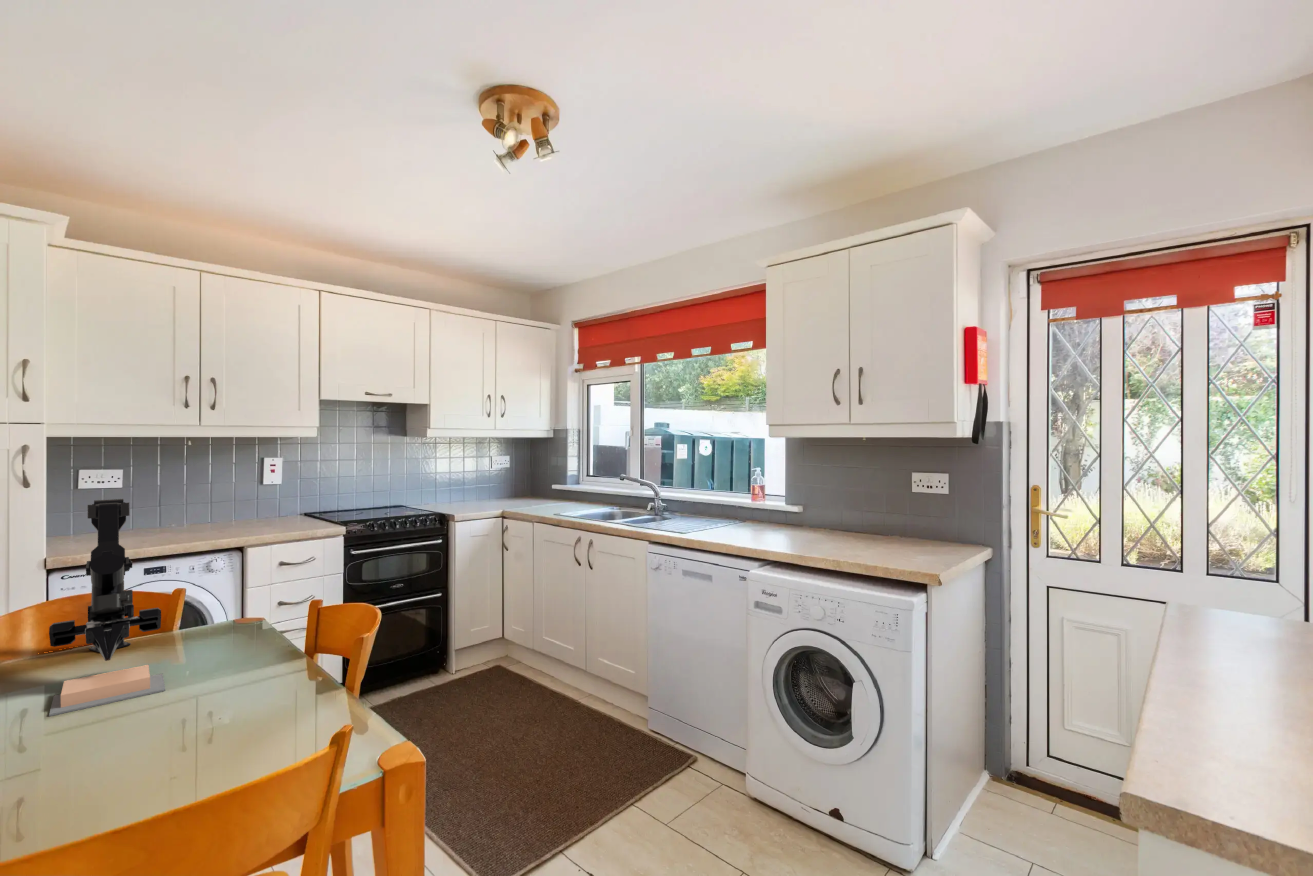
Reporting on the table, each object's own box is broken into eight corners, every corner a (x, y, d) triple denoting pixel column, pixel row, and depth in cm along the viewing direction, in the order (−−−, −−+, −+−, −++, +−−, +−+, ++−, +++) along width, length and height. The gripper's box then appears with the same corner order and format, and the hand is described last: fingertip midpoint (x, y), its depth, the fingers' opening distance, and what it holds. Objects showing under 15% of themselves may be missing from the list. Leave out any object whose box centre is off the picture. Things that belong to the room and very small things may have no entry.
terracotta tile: (64, 681, 131) (60, 695, 123) (148, 664, 140) (150, 677, 133) (64, 692, 131) (60, 707, 123) (148, 675, 140) (150, 688, 133)
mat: (54, 697, 129) (54, 695, 129) (162, 675, 141) (162, 673, 141) (49, 716, 120) (49, 714, 120) (165, 690, 132) (165, 689, 132)
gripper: (49, 586, 131) (45, 650, 123) (160, 573, 143) (163, 630, 135) (52, 615, 137) (48, 678, 129) (159, 600, 149) (161, 656, 141)
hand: (107, 659), depth 133 cm, fingers closed
